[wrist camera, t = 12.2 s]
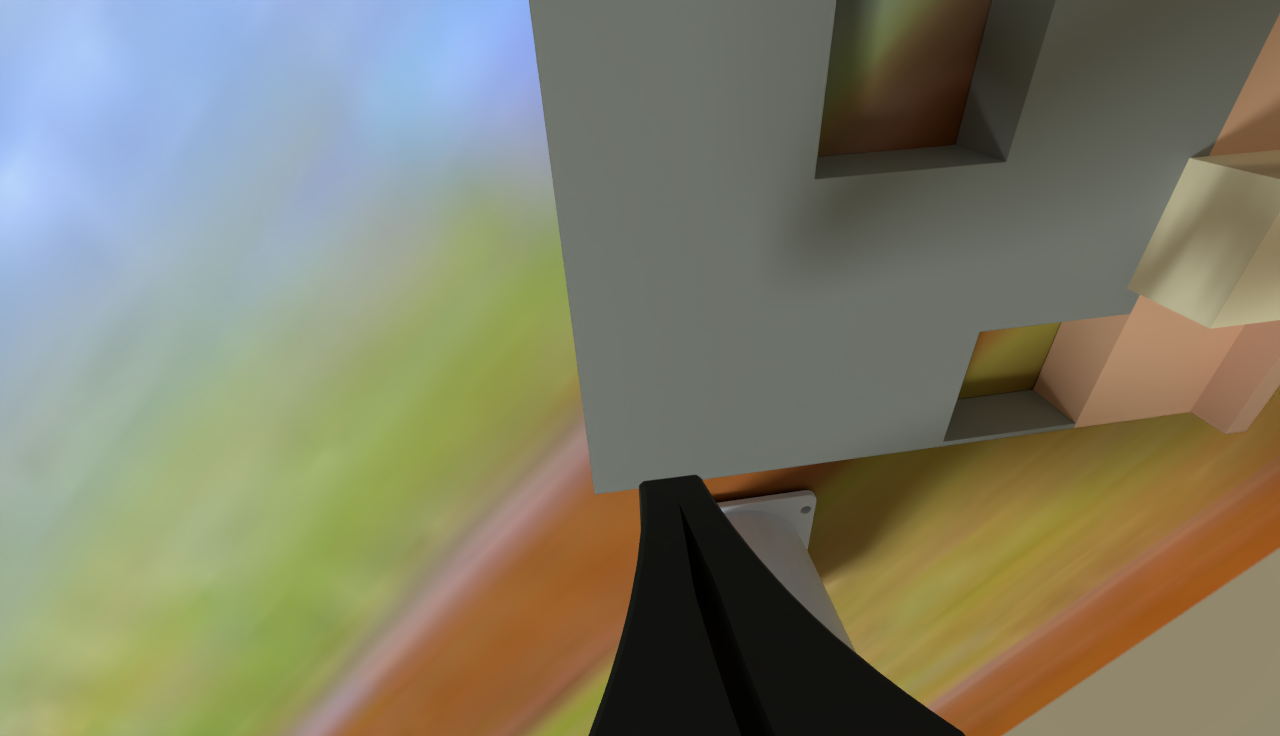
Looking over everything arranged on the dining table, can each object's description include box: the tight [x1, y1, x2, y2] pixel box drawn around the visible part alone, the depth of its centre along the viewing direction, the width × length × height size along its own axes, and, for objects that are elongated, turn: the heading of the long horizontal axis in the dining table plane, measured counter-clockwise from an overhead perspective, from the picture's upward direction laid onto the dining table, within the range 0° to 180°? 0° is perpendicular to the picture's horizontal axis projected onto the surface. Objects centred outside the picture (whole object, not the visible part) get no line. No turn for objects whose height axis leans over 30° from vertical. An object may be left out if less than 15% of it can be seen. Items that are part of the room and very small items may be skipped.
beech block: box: [1127, 150, 1280, 329], centre depth 18 cm, size 4×6×3 cm
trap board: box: [529, 0, 1280, 494], centre depth 19 cm, size 17×27×4 cm, turn 93°
